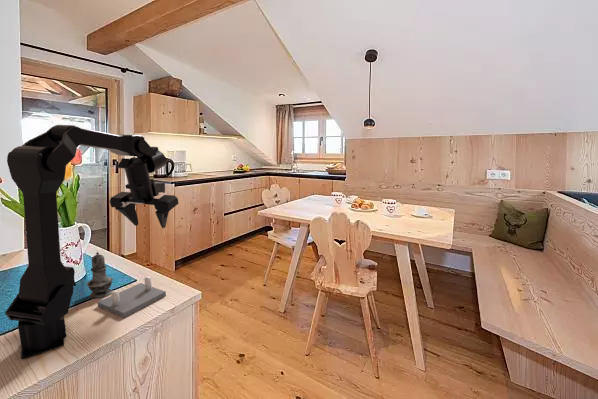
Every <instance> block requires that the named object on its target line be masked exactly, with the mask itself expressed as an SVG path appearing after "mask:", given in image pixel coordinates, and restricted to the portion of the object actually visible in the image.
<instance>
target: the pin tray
mask: <svg viewBox="0 0 598 399" xmlns="http://www.w3.org/2000/svg"><path fill="white" fill-rule="evenodd" d="M166 296H167V291H165V290H162V289H159V288H157V287H154V286H152V276H150V275H147V276H144V283H142V282H140V283H138V284H136V285H133V286H131V287H129V288H127V289H124V290H122V291H120V290H118V289H115V290H112V292H111V294H110V295H109V296H107V297H105V298H102V300H99V301H97V307H98V308H101V309H103V310H105V311H108V312H110V313H112V314H114V315H117V316H119V317H121V318H126V317H128V316H130V315H132V314H135V313H136V312H138V311H139V310H142V309H143V308H145V307H147V306H149V305H150V304H153V303H154V301H155V302H157V301H158V299H159V300H160V298H161V299H162V298H164V297H166ZM156 300H157V301H156Z"/></svg>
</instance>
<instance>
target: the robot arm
mask: <svg viewBox="0 0 598 399" xmlns="http://www.w3.org/2000/svg"><path fill="white" fill-rule="evenodd" d="M79 146H81V147H86V148H87V147H88V148H95V149H102V150H108V151H109V152H111V153H112V154H115V155H118V156H124V157H130V158H123V157H122V158H121V160H120V161H119V163H117V168H118V169H124V172H125V176H126V180H127V184H125V189H128V190H129V191H121V192H119V193H117V194H115V195H113V196H111V197H110V199H109V204H110V207H111V208H114V209H115V210H116V211H119V213H121V214H122V215H123V216H125V218H126V219H128V220H129V221H130V222H131V223H132V224H133V225H134V226H136V227H137V226H139V217H138V214H137V209H136V205H138V204H139V205H151V206H154V209H155V215H156V217H157V220H158V222H159V224H160V226H161V228H162V229H165V228H166V226H167V221H168V216H169V213H170V211H171V210H172V209H174V208H175V207H176V206H178V205H179V199H178V197H177V196H176V195H175V194H173V195H172V194H171V195H170V194H165V193H166V182H161V181H160V182H159V181H155V180H154V178H151V177H150V174H153V173H154V172H156V171H158V170H160V169H162V168H164V167H166V164H167V157H166V155H165V154H164V153H163V152H162V151H160V150H159V147H158V146H151V145H150V144H149V143H148V142H147V140H145V136H143V135H140V134H122V133H121V134H115V133H114V134H113V133H107V132H104V131H100V130H99V131H98V130H94V129H93V130H92V129H88V128H84V127H79V126H77V125H73V124H55V125H53V126H52V127H50V128H49V129H47V130H46V132H43V133H42V134H39V135H37V136H35V137H33V138H31V139H29V140H27V141H26V142H25V143H23V144H22V145H18V146H16V147H14V148H13V149H12V150H11V151H9V152H8V154H7V158H6V162H7V165H8V166H7V167H8V169H9V170H8V171H9V174H10V177H11V179H12V181H13V182H14V184H15V185H16V186H17V188H19V190H20V191H21V193H22V200H23V212H24V224H25V235H26V237H25V238H26V249H27V262H28V264H27V267H26V269H25V271H24V272H23V274H22V276H21V277H20V280H19V287H18V288H19V290H18V293H17V295H16V296H15V298H14V299H13V301H12V302H11V303H10V304H9V306H8V308H7V309H6V310H5V312H4V314H5V316H6V317H7V318H8V320H9V321H16V322H18V324H17V328H18V335H19V341H20V342H19V343H20V348H21V349H20V359H22V360H23V359H28V358H30V357H33V356H37V355H40V354H42V353H46V352H49V351H52V350H55V349H59V348H61V347H64V346H65V339H66V338H67V329H66V320H65V316H66V315H67V314H69V310H70V306H71V301H72V296H73V294H74V287H76V286H77V284H76V281H75V273H76V271H75V269H74V267H73V266H67V265H66V266H65V265H64V263H63V262H62V259H61V245H60V229H59V228H60V226H59V214H58V199H57V198H58V197H57V195H58V191H59V189H60V187H61V186H62V184H63V183H64V181H65V179H66V169H67V168H66V167H67V166H68V164H70V162H72V160H73V159H74V158H75V157H76V154H77V149H78V147H79ZM160 193H163V195H162V196H160ZM158 196H160V197H158ZM155 197H158V198H155Z"/></svg>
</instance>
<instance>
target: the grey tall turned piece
mask: <svg viewBox="0 0 598 399" xmlns="http://www.w3.org/2000/svg"><path fill="white" fill-rule="evenodd" d="M105 260H106V259H105V256H104V255H102V254H100V252H98V251H96V253H95V255H94V256H92V258H91V269H90V271H91V272H92V279H91V280H89V281H88V282H87V283H86V286H87V287H88V289H89V290H90V291H91V293H90V294H89V295H88V297H89V298H90V299H93V300H96V299H99V300H100V299H105V298H108V297H110V296H111V292H112V291H113V289H111V287H112V284H113V280H114V278H113V277H110V276H107V272H106V271H107V268H108V266H106V263H105Z"/></svg>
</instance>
